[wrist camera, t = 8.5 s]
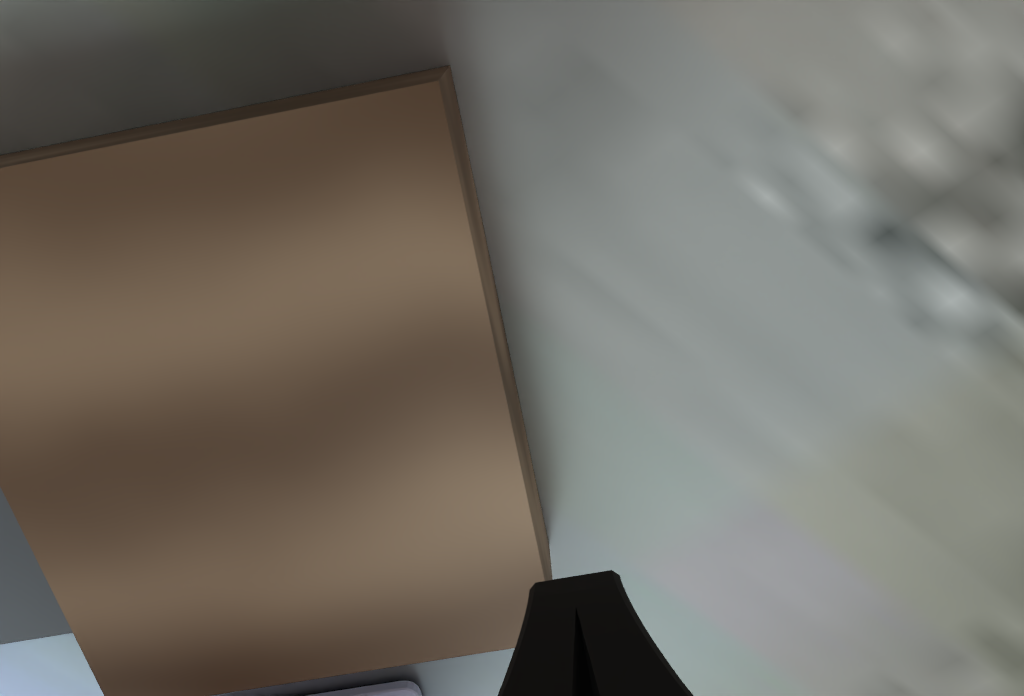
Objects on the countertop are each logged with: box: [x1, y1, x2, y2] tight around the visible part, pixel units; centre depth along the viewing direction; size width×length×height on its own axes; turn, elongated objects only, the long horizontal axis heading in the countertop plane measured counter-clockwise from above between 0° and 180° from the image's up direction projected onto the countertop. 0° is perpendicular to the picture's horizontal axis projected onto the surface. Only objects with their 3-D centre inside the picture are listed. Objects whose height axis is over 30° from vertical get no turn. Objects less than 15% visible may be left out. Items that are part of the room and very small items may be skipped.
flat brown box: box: [0, 65, 552, 696], centre depth 21 cm, size 14×12×4 cm
